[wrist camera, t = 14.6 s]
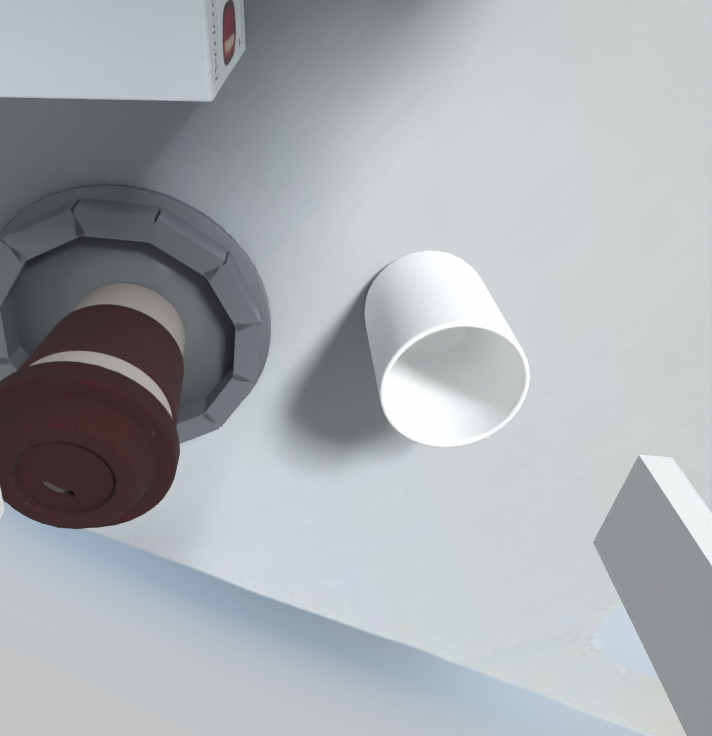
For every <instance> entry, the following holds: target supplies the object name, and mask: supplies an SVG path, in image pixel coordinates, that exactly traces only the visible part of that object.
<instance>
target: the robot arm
mask: <svg viewBox="0 0 712 736" xmlns="http://www.w3.org/2000/svg"><path fill="white" fill-rule="evenodd" d="M4 511H5V508H4V503H3V498H2V493H1V488H0V519H1V517H2V515H3V513H4ZM593 543H594V545H595V547H596V549H597V551H598V553H599V555H600V557H601V559H602V561H603V564H604V566H605V568H606V570H607V572H608V574H609V576H610V578H611V580H612V582H613V584H614V586H615V588H616V590H617V592H618V594H619V597H620V599H621V601H622V603H623V605H624V607H625V609H626V611H627V613H628V615H629V617H630V619H631V621H632V623H633V625H634V627H635V629H636V632H637V634H638V636H639V638H640V640H641V642H642V644H643V646H644V648H645V650H646V652H647V654H648V656H649V658H650V660H651V662H652V664H653V667H654V669H655V670H656V673H657V674H658V677H659V679H660V681H661V683H662V685H663V687H664V689H665V691H666V693H667V695H668V698H669V700H670V702H671V704H672V706H673V708H674V710H675V712H676V714H677V716H678V718H679V720H680V722H681V724H682V726H683V728H684V731H685V733H686V735H687V736H712V513H711V512H710V510H709V509H708V507H707V506H706V505H705V503H704V502H703V500H702V499H701V498H700V496H699V495H698V493H697V492H696V491H695V489H694V488H693V486H692V485H691V484H690V482H689V481H688V479H687V478H686V477H685V475H684V474H683V472H682V471H681V470H680V468H679V467H678V466H677V464H676V463H675V461H674V460H673V459H672V457H660V456H647V455H639V456H638V458H637V460H636V462H635V463H634V465H633V467H632V469H631V471H630V473H629V475H628V477H627V479H626V481H625V483H624V484H623V486H622V488H621V490H620V492H619V494H618V496H617V498H616V500H615V502H614V504H613V505H612V507H611V509H610V511H609V513H608V515H607V517H606V519H605V521H604V523H603V525H602V526H601V528H600V530H599V532H598V534H597V536H596V538H595V540H594V542H593Z"/></svg>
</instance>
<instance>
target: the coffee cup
mask: <svg viewBox="0 0 712 736" xmlns="http://www.w3.org/2000/svg"><path fill="white" fill-rule="evenodd" d="M184 346H185V330H184V326H183V323H182V320H181V318H180V316H179V314H178V312H177V311H176V309H175V308H174V307H173V306H172V304H170V303H169V302H168V301H167V300H166V299H165V298H164V297H163V296H161V295H160V294H158V293H156V292H155V291H153V290H151V289H148V288H146V287H143V286H140V285H136V284H129V283H115V284H109V285H105V286H102V287H100V288H97V289H95V290H93V291H92V292H90V293H89V294H87V295H86V296H85V297H84V298H83V299H82V300H81V301H80V302H79V304H78V305H77V306H76V307H75V308H74V310H73V311H72V312H71V313H70V314H68V315H67V316H65V317H64V318H63V319H62V320H60V321H59V322H58V323H57V324H56V325H55V327H54V328H53V329H52V330H51V331H50V332H49V334H48V335H47V336H46V337H45V338H44V340H43V341H42V342H41V343H40V344H39V346H38V347H37V348H36V349H35V350H34V351H33V353H32V354H31V355H30V356H29V357H28V359H27V360H26V361H25V362H24V363H23V364H22V366H21V367H20V368H19V369H18V371H16V372H14V373H12V374H10V375H8V376H7V377H5V378H4V379H3V380H1V381H0V488H1V493H2V498H3V500H4V501H5V502H7V503H8V504H9V505H10V506H11V507H13V508H14V509H15V510H17V511H18V512H20V513H21V514H23V515H25V516H26V517H28V518H30V519H33V520H35V521H38V522H41V523H43V524H47V525H51V526H54V527H58V528H71V529H82V528H98V527H105V526H112V525H117V524H120V523H124V522H127V521H130V520H133V519H135V518H137V517H139V516H141V515H143V514H145V513H146V512H148V511H149V510H151V509H152V508H153V507H155V506H156V505H157V504H158V503H159V502H160V501H161V500H162V499H163V498H164V497H165V495H166V493H167V492H168V490H169V489H170V487H171V485H172V483H173V480H174V477H175V473H176V469H177V464H178V459H179V454H180V445H179V437H178V432H177V429H176V427H177V420H178V413H179V406H180V398H181V391H182V384H183V377H184V362H183V353H184Z"/></svg>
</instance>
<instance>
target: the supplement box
mask: <svg viewBox="0 0 712 736" xmlns="http://www.w3.org/2000/svg"><path fill="white" fill-rule="evenodd" d="M245 50H246V40H245V14H244V0H0V97H15V98H62V99H109V100H157V101H197V102H212V101H213V100H214V99H215V97H216V95H217V94H218V92H219V90H220V89H221V87H222V86H223V84H224V83H225V81H226V79H227V78H228V76H229V74H230V73H231V71H232V70H233V69H234V67H235V65H236V64H237V62H238V61H239V59H240V58H241V56H242V55H243V53H244V51H245Z"/></svg>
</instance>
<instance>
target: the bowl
mask: <svg viewBox="0 0 712 736" xmlns="http://www.w3.org/2000/svg"><path fill="white" fill-rule="evenodd" d="M115 283H129V284H136V285H140V286H143V287H146V288H148V289H151V290H153V291H155V292H156V293H158V294H160V295H161V296H163V297H164V298H165V299H166V300H167V301H168V302H169V303H170V304H172V306H173V307H174V308H175V309H176V311H177V312H178V314H179V316H180V318H181V320H182V323H183V326H184V330H185V346H184V353H183V362H184V377H183V384H182V391H181V398H180V406H179V413H178V420H177V427H176V429H177V432H178V437H179V444H180V443H183V442H185V441H188V440H190V439H193V438H196V437H198V436H201V435H204V434H206V433H209V432H211V431H214V430H217V429H219V426H220V427H222V425H223V424H224V423H225V422H226V420H227V419H228V418H229V417H230V416H231V414H232V413H233V412H234V411H235V409H236V408H237V407H238V406H239V405H240V403H241V402H242V401H243V400H244V399H245V398H246V396H247V395H248V394H249V393H250V391H251V390H252V389H253V387H254V386H255V385H256V383H257V381H258V379H259V377H260V375H261V373H262V371H263V369H264V366H265V362H266V359H267V356H268V351H269V344H270V335H271V317H270V310H269V303H268V299H267V296H266V292H265V289H264V286H263V283H262V281H261V279H260V277H259V275H258V272H257V270H256V269H255V267H254V265H253V264H252V262H251V261H250V259H249V257H248V256H247V254H246V253H245V252H244V251H243V249H242V248H241V247H240V246H239V245H238V243H237V242H236V241H235V240H234V239H233V238H232V237H231V236H230V235H229V234H228V233H227V232H226V231H225V230H224V229H223V228H222V227H221V226H219V225H218V224H217V223H215V222H214V221H213V220H211V219H210V218H208V217H207V216H206V215H204V214H203V213H201V212H199V211H198V210H196V209H194V208H192V207H191V206H189V205H187V204H185V203H183V202H181V201H178V200H176V199H174V198H171V197H169V196H167V195H164V194H160V193H157V192H154V191H150V190H147V189H142V188H136V187H130V186H122V185H93V186H82V187H78V188H73V189H69V190H64V191H61V192H59V193H56V194H53V195H50V196H48V197H45V198H43V199H42V200H40V201H38V202H36V203H34V204H33V205H31V206H29V207H28V208H26V209H25V210H24V211H23V212H21V213H20V214H19V215H18V216H16V217H15V218H14V219H13V220H12V221H11V222H10V223H9V224H8V225H7V226H6V227H5V228H4V229H3V230H2V231H1V232H0V381H1V380H3V379H4V378H5V377H7V376H8V375H10V374H12V373H14V372H16V371H18V369H19V368H20V367H21V366H22V364H23V363H24V362H25V361H26V360H27V359H28V357H29V356H30V355H31V354H32V353H33V351H34V350H35V349H36V348H37V347H38V346H39V344H40V343H41V342H42V341H43V340H44V338H45V337H46V336H47V335H48V334H49V332H50V331H51V330H52V329H53V328H54V327H55V325H56V324H57V323H58V322H59V321H60V320H62V319H63V318H64V317H65V316H67V315H68V314H70V313H71V312H72V311H73V310H74V308H75V307H76V306H77V305H78V304H79V302H80V301H81V300H82V299H83V298H84V297H85V296H86V295H87V294H89V293H90V292H92V291H93V290H95V289H97V288H100V287H102V286H105V285H109V284H115Z"/></svg>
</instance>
